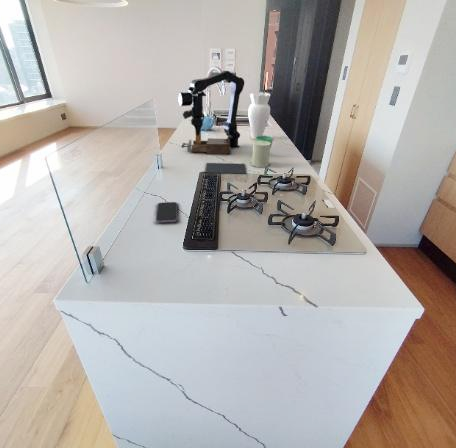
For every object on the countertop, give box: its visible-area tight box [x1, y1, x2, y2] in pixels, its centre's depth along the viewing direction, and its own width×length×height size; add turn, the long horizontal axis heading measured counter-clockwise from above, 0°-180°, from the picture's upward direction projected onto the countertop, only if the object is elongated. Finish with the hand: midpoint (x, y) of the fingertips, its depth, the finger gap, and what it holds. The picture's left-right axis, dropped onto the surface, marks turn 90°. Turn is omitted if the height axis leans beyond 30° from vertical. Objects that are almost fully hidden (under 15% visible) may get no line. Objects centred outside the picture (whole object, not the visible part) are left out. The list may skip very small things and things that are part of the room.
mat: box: [205, 162, 247, 175], centre depth 147 cm, size 20×14×1 cm
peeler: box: [194, 129, 202, 145], centre depth 168 cm, size 3×3×12 cm
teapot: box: [201, 114, 215, 132], centre depth 217 cm, size 13×13×10 cm
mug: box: [255, 134, 274, 149], centre depth 167 cm, size 15×10×10 cm
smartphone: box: [155, 201, 178, 224], centre depth 105 cm, size 7×1×15 cm
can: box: [250, 140, 272, 168], centre depth 150 cm, size 9×9×12 cm
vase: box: [247, 91, 271, 141], centre depth 193 cm, size 15×15×29 cm
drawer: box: [181, 139, 207, 153], centre depth 171 cm, size 16×11×4 cm
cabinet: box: [206, 137, 231, 156], centre depth 171 cm, size 14×13×6 cm
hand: (198, 133), depth 167 cm, fingers open, 9 cm apart
